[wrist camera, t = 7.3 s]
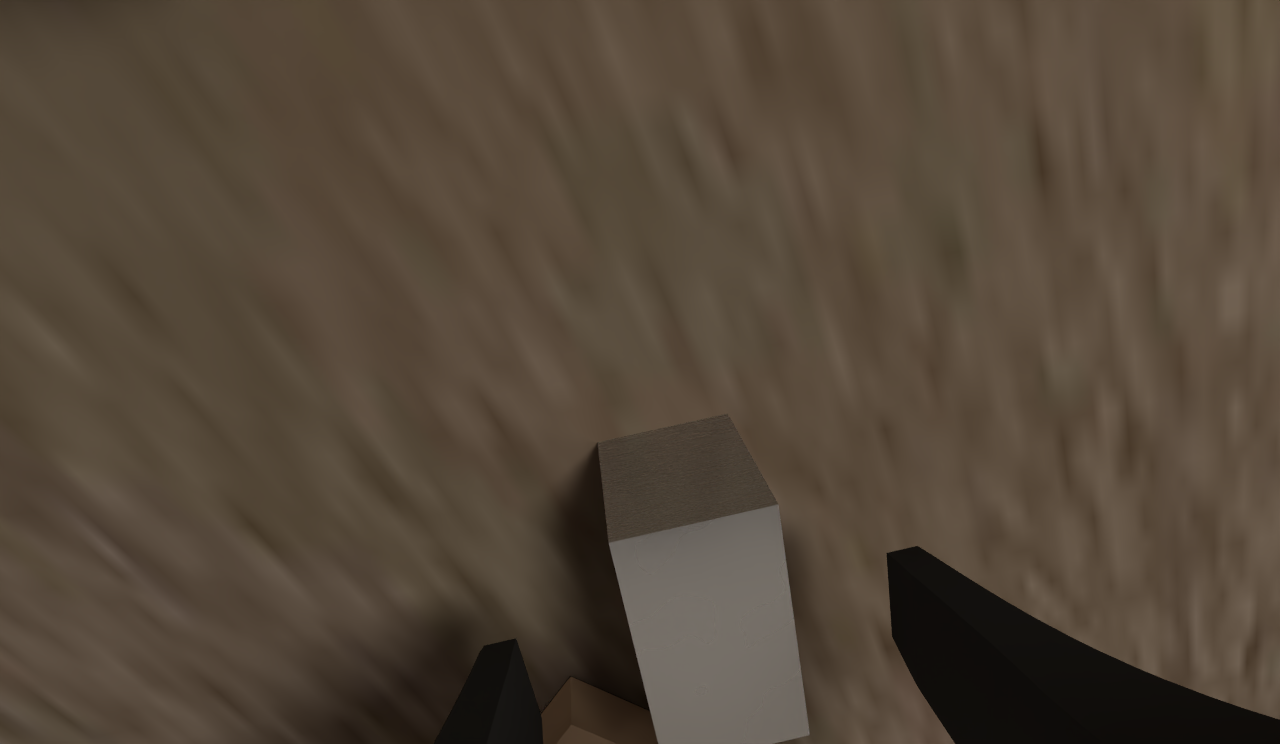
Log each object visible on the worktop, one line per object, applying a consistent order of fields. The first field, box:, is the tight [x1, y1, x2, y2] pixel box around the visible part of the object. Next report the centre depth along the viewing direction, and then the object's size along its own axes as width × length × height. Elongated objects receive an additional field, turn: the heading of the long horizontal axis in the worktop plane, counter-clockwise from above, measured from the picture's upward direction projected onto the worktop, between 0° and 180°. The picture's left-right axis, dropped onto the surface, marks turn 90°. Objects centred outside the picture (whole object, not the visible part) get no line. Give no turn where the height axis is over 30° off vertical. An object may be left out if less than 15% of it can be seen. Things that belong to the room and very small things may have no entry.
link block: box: [598, 414, 810, 744], centre depth 15 cm, size 6×3×4 cm, turn 11°
